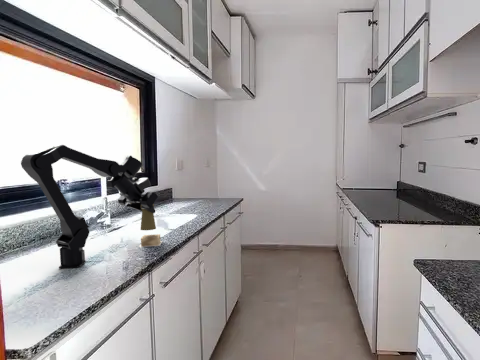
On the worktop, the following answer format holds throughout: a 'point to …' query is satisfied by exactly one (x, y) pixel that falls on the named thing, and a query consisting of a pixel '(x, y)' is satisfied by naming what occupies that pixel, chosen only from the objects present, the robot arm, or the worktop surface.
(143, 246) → the pale blue tile
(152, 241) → the oak block
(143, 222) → the cork
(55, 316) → the worktop surface
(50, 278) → the worktop surface
